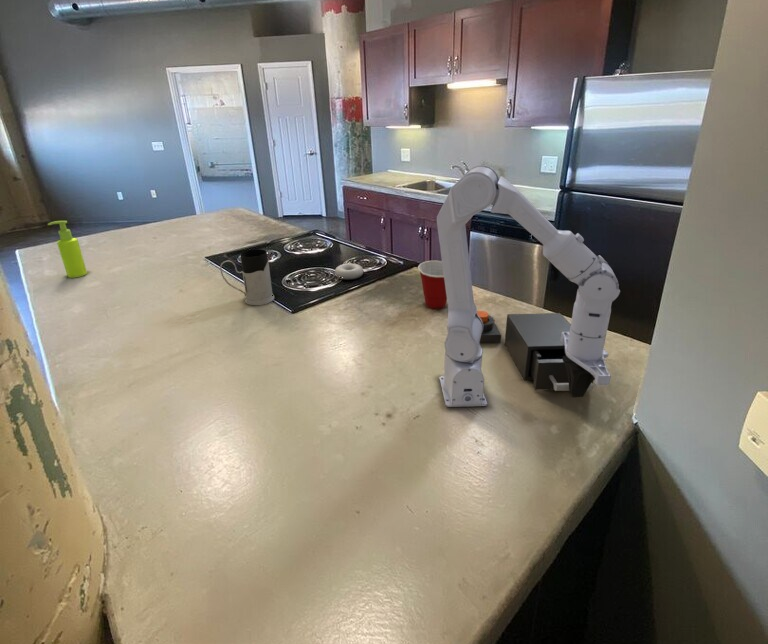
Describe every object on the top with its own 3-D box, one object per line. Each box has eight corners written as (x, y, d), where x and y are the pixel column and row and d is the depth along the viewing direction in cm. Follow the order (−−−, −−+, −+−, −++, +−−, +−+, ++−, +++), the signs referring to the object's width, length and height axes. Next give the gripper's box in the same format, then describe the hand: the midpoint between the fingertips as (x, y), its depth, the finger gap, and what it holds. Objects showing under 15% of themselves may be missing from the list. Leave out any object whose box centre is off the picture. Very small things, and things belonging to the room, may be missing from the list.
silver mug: (276, 302, 126) (270, 255, 120) (226, 310, 121) (218, 262, 116) (272, 291, 133) (266, 247, 128) (225, 299, 129) (217, 253, 123)
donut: (341, 270, 151) (330, 279, 142) (341, 261, 150) (329, 270, 141) (367, 272, 148) (357, 282, 139) (367, 263, 147) (357, 272, 138)
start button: (489, 323, 103) (490, 317, 103) (475, 323, 103) (475, 317, 103) (485, 316, 107) (486, 310, 106) (471, 317, 107) (472, 310, 106)
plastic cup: (425, 315, 116) (425, 275, 111) (412, 299, 126) (412, 262, 121) (460, 310, 118) (462, 271, 114) (445, 295, 128) (447, 258, 124)
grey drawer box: (583, 378, 87) (590, 345, 84) (524, 380, 87) (528, 346, 84) (556, 342, 101) (560, 312, 98) (504, 344, 101) (507, 314, 98)
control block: (500, 342, 102) (502, 328, 100) (468, 343, 101) (468, 328, 100) (490, 323, 111) (491, 309, 109) (460, 323, 111) (461, 310, 109)
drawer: (602, 401, 79) (608, 373, 77) (542, 403, 79) (546, 375, 77) (563, 352, 95) (567, 327, 93) (514, 353, 95) (516, 329, 93)
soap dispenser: (66, 273, 152) (49, 220, 145) (88, 270, 155) (73, 218, 148) (62, 279, 147) (45, 224, 140) (85, 276, 150) (69, 221, 143)
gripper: (635, 351, 66) (619, 421, 70) (591, 311, 79) (580, 371, 84) (590, 352, 66) (577, 422, 70) (554, 311, 79) (545, 372, 84)
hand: (576, 394), depth 77 cm, fingers closed
